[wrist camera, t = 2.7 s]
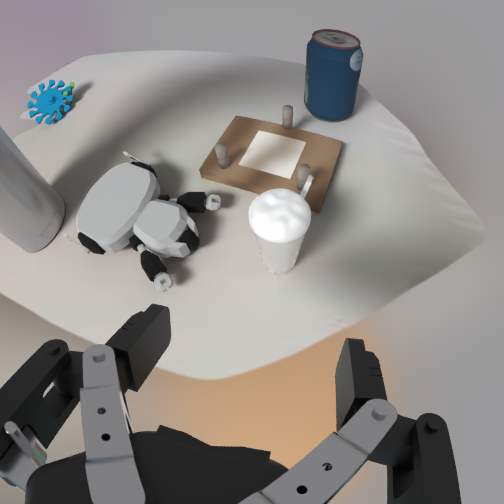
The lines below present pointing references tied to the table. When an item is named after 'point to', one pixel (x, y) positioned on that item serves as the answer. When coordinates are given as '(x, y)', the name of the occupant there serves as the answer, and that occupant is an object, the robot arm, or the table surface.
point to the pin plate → (273, 158)
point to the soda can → (332, 74)
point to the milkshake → (280, 225)
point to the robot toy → (140, 218)
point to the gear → (51, 101)
